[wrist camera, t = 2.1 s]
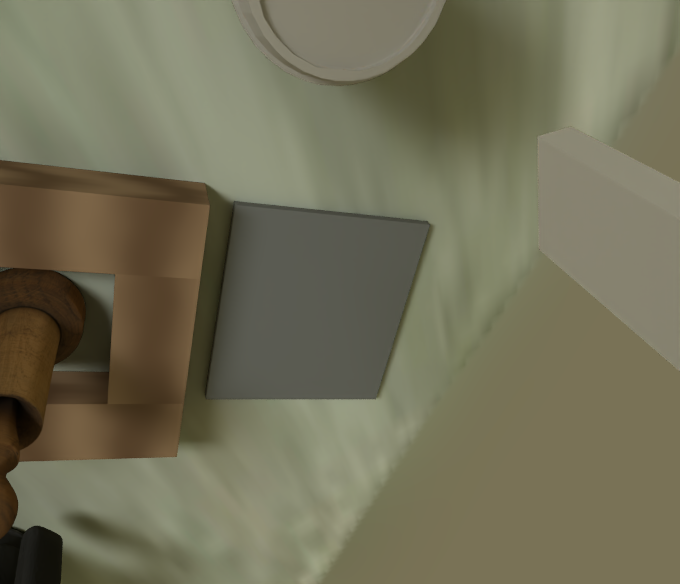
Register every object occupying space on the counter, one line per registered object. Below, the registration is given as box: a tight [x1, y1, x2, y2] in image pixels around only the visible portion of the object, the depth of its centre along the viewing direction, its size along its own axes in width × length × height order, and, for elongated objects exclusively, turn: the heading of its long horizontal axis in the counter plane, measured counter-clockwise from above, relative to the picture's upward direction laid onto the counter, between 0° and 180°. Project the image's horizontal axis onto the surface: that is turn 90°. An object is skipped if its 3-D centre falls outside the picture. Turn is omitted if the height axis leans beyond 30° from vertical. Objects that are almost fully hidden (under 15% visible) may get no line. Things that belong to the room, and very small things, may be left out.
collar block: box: [0, 160, 210, 462], centre depth 40 cm, size 20×20×4 cm
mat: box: [205, 201, 430, 399], centre depth 47 cm, size 14×16×1 cm
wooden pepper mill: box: [0, 268, 86, 539], centre depth 34 cm, size 7×6×18 cm
